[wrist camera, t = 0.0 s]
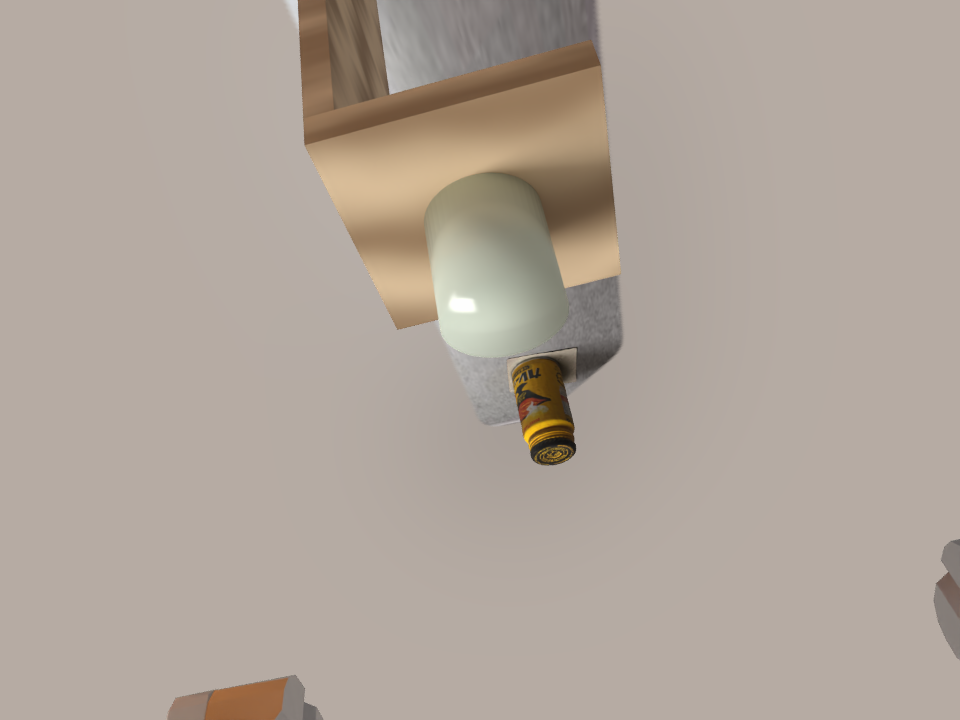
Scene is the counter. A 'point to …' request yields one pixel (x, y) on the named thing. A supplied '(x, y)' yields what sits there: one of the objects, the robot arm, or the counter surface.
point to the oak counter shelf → (451, 148)
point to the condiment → (545, 403)
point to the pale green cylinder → (493, 266)
